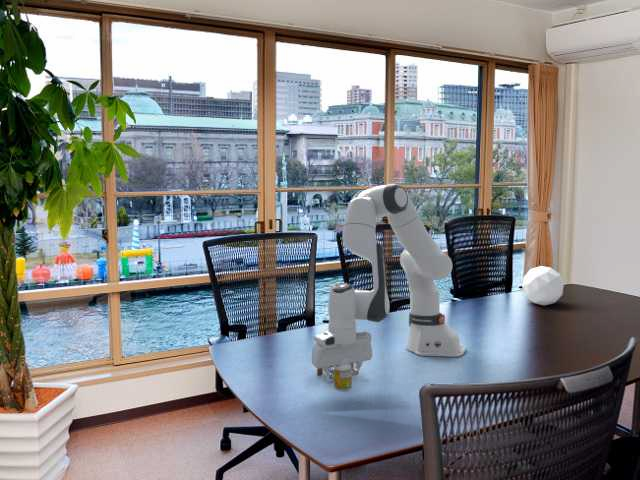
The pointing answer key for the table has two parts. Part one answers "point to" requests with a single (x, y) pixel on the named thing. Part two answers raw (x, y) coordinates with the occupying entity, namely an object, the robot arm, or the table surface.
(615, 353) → the table surface
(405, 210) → the robot arm
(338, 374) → the supplement bottle
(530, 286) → the geometric polyhedron
